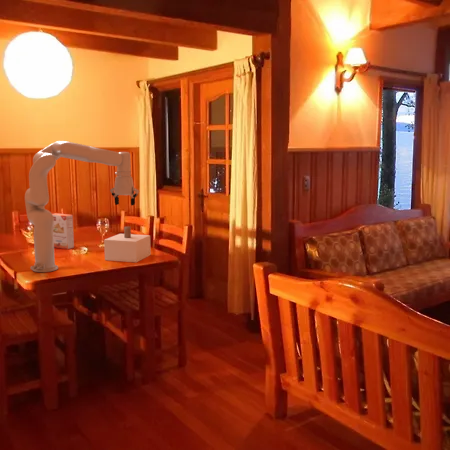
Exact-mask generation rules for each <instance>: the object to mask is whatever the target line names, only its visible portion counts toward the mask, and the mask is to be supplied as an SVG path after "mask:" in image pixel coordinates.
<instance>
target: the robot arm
mask: <svg viewBox="0 0 450 450" xmlns="http://www.w3.org/2000/svg"><path fill="white" fill-rule="evenodd" d="M60 158H65V159H70V160H75V161H81V162H84V163H94V164H95V163H96V164H103V165H106V166H112V167H116V171H115V172H114V174H115V175H116V177H115V179H114V180H115V181H114V187H112V188H111V189H110V190H109V191H110V193H111V195H112V197H113V198H114V204H115V205H118V206H119V205H120V201H119V200H120V196H130V205H131V206H135V204H136V197H137V196H138V194H139V192H140V190H139V189H137V188H136V187H134V180H133V176H132V168H131V167H132V164H131V163H132V161H131V160H132V159H131V153H130V152H129V151H119V152H118V151H114V150H109V149H104V148H98V147H95V146H91V145H86V144H82V143H77V142H71V141H68V140H67V141H66V140H56V141H54V142H52V143H51V144H49V145H48V146H46V147H44V148H42V149H41V150H39V151H38V152H37V153H35V154H34V156H33V158H32V166H31V167H30V169H29V173H28V181H29V182H28V184H29V188H27V189H26V190H25V194H24V203H25V210H26V217H27V220H28V222H29V223H30V224H32V225H33V246H34V247H33V249H34V258H35V259H34V265H31V266H30V270H31V271H33V272H35V273H50V272H54V271H57V270H59V265H56V263H55V261H56V260H55V247H54V239H53V226H54V218H53V215H52V214H53V213H52V211H50V210H48V209H46V208H45V207H46V205H48V203H49V202H50V201H49V200H50V195H49V187H48V174H49V172H50V171H51V170H52V169H53V168H54V167H55V166H56V164H57V160H59V159H60Z"/></svg>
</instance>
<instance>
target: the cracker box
mask: <svg viewBox="0 0 450 450" xmlns="http://www.w3.org/2000/svg"><path fill="white" fill-rule="evenodd" d="M52 215H53V218H54V226H53V239H54V249H56V248H57V249H62V250H71V249H74V248H75V235H74V233H75V232H74V218H73V217H74V216H73V214H68V213H67V214H66V213H65V214H64V213H59V212H58V213H52Z"/></svg>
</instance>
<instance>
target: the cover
mask: <svg viewBox="0 0 450 450" xmlns="http://www.w3.org/2000/svg"><path fill="white" fill-rule="evenodd" d="M131 231H132V228H131V226H124V227H123V232H124V233H118V234H115V235H113V236H110V237H108V238H105V239H104V240H103V246H104V260H105V261H112V262H114V261H115V262H124V263H125V262H127V263H138V262H140V261H142V260H144V259H146V258H148V257H149V256H151V253H152V252H151V248H152V247H151V235H147V234H133V233H132V232H131Z"/></svg>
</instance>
